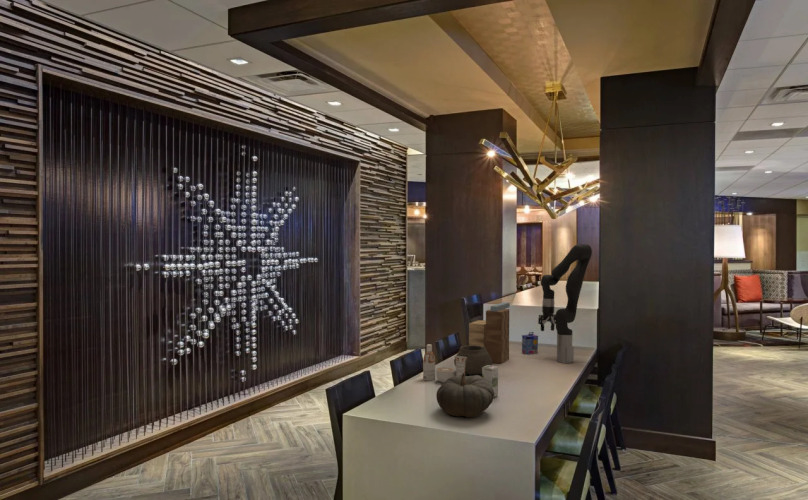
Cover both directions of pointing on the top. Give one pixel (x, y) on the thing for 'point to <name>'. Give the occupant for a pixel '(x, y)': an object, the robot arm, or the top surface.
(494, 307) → the batten
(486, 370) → the white carton
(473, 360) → the clay pot
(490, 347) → the walnut stand
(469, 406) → the gourd
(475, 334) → the oak stand
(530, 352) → the ink cartridge box
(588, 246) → the robot arm
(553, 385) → the top surface
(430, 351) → the cosmetic set
